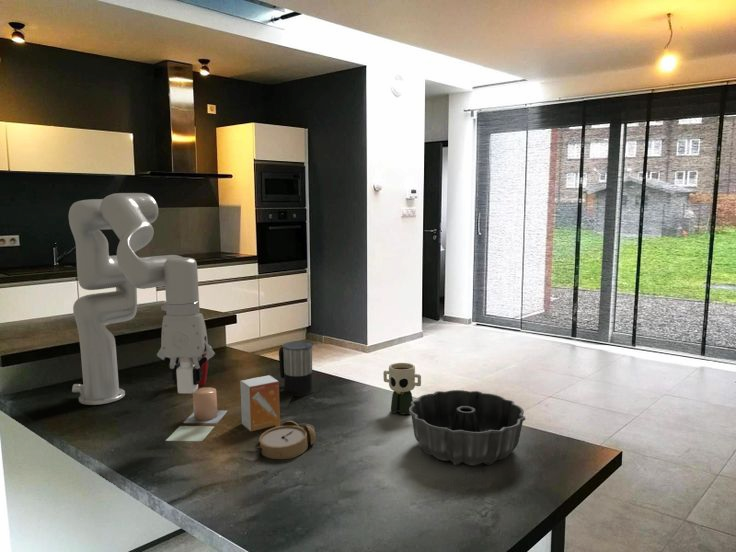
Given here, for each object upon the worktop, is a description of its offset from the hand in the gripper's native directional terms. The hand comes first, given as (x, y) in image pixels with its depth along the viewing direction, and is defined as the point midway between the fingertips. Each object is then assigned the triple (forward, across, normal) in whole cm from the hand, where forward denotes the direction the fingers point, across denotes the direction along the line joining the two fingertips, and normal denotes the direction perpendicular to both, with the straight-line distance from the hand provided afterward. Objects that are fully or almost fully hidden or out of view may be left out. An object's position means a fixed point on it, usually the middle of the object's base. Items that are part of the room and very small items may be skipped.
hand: (187, 382), depth 141 cm
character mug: (+15, +52, +20) cm, 57 cm away
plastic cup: (+15, -14, +42) cm, 46 cm away
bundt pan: (+15, +67, -4) cm, 69 cm away
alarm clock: (+15, +25, -3) cm, 30 cm away
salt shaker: (+3, 0, 0) cm, 3 cm away
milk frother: (+15, +17, +34) cm, 41 cm away
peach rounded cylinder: (+13, 0, +11) cm, 17 cm away
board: (+15, 0, +6) cm, 16 cm away
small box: (+15, +16, +6) cm, 23 cm away
